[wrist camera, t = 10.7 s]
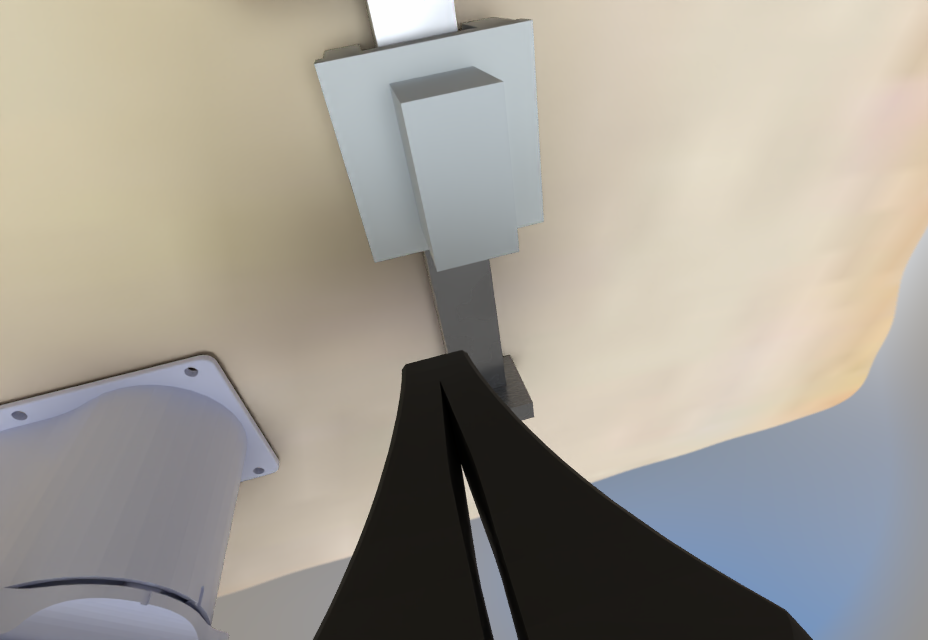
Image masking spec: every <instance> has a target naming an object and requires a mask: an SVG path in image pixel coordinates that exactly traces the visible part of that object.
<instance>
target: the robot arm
mask: <svg viewBox="0 0 928 640" xmlns="http://www.w3.org/2000/svg"><path fill="white" fill-rule="evenodd" d="M188 367H193V368H195V369H197V371H192V370H189V369H188ZM19 411H21V412H24V413H21V412H19ZM461 465H462V467H461ZM258 467H260V468H258ZM278 468H279V460H278V458H277V456H276V455H275V453H274V452H273V450H272V448H271V447H270V445H269V444H268V442H267V440H266V439H265V437H264V436H263V434H262V432H261V431H260V429H259V428H258V426H257V424H256V423H255V421H254V420H253V418H252V417H251V415H250V413H249V412H248V410H247V409H246V407H245V405H244V404H243V402H242V401H241V399H240V397H239V396H238V394H237V393H236V391H235V389H234V388H233V386H232V385H231V383H230V381H229V380H228V378H227V377H226V375H225V373H224V372H223V370H222V369H221V367H220V365H219V364H218V362H217V361H216V360H215V359H214V358H213V357H211V356H208V355H198V356H195V357H191V358H187V359H183V360H179V361H175V362H171V363H167V364H163V365H159V366H155V367H151V368H147V369H143V370H139V371H135V372H131V373H127V374H123V375H119V376H115V377H111V378H107V379H103V380H99V381H95V382H91V383H87V384H83V385H79V386H75V387H71V388H67V389H63V390H59V391H55V392H51V393H47V394H44V395H40V396H36V397H32V398H28V399H24V400H20V401H16V402H12V403H8V404H4V405H0V640H228V639H229V634H228V633H227V632H223V631H220V630H217V629H215V628H212V627H211V623H212V618H213V613H214V608H215V603H216V599H217V594H218V589H219V584H220V579H221V574H222V569H223V564H224V559H225V554H226V549H227V545H228V540H229V535H230V530H231V525H232V520H233V515H234V510H235V505H236V500H237V495H238V490H239V486H240V482H242V481H246V480H250V479H253V478H257V477H260V476H264V475H268V474H271V473H274V472H276V471H277V470H278ZM462 468H463V471H464V473H465V476H466V479H467V482H468V485H469V487H470V490H471V493H472V496H473V498H474V501H475V504H476V507H477V509H478V512H479V515H480V518H481V521H482V523H483V526H484V529H485V532H486V534H487V537H488V540H489V542H490V545H491V548H492V551H493V554H494V557H495V559H496V563H497V566H498V569H499V572H500V575H501V578H502V581H503V585H504V589H505V592H506V596H507V600H508V604H509V607H510V611H511V614H512V618H513V622H514V625H515V629H516V633H517V637H518V640H813V639H812V638H811V637H810V636H809V635H808V634H807V632H806V631H805V630H804V629H803V628H802V627H801V626H800V625H799V624H798V623H797V622H796V620H795V619H794V618H793V617H792V616H791V615H790V614H789V613H788V612H787V611H786V610H785V609H783V608H781V607H780V606H778V605H776V604H774V603H773V602H771V601H769V600H768V599H766V598H764V597H762V596H760V595H759V594H757V593H755V592H754V591H752V590H750V589H748V588H747V587H745V586H743V585H741V584H740V583H738V582H736V581H735V580H733V579H731V578H730V577H728V576H726V575H725V574H723V573H721V572H719V571H718V570H716V569H714V568H713V567H711V566H710V565H708V564H706V563H705V562H703V561H701V560H700V559H698V558H697V557H695V556H694V555H692V554H690V553H689V552H687V551H686V550H684V549H682V548H681V547H679V546H678V545H676V544H675V543H673V542H672V541H670V540H668V539H667V538H665V537H664V536H663V535H661V534H660V533H658V532H657V531H655V530H654V529H653V528H651V527H650V526H648V525H647V524H645V523H644V522H643V521H641V520H640V519H638V518H637V517H635V516H634V515H633V514H631V513H630V512H628V511H627V510H625V509H624V508H623V507H621V506H620V505H618V504H617V503H615V502H614V501H613V500H611V499H610V498H609V497H607V496H606V495H605V494H603V493H602V492H601V491H600V490H598V489H597V488H596V487H595V486H593V485H592V484H591V483H590V482H588V481H587V480H586V479H585V478H583V477H582V476H581V475H580V474H578V473H577V472H576V471H575V470H574V469H572V468H571V467H570V466H569V465H568V464H567V463H565V462H564V461H563V460H562V459H561V458H560V457H559V456H557V455H556V454H555V453H554V452H553V451H552V450H551V449H550V448H549V447H548V446H546V445H545V444H544V443H543V442H542V441H541V440H540V439H539V438H538V437H537V436H536V435H535V434H534V433H533V432H532V431H531V430H530V429H529V428H528V427H527V426H526V425H525V424H524V423H523V422H522V421H521V420H520V419H519V418H518V417H517V416H516V415H515V414H514V412H513V411H512V410H511V409H510V408H509V407H508V406H507V405H506V404H505V403H504V401H503V400H502V399H501V398H500V397H499V396H498V395H497V393H496V392H495V391H494V390H493V389H492V387H491V386H490V385H489V384H488V382H487V381H486V380H485V379H484V377H483V376H482V375H481V373H480V372H479V371H478V369H477V368H476V366H475V365H474V363H473V362H472V360H471V358H470V357H469V355H468V353H467V352H465V351H463V350H459V351H455V352H451V353H448V354H444V355H440V356H436V357H432V358H428V359H425V360H421V361H417V362H413V363H409V364H406V365H405V366H404V368H403V369H402V383H401V393H400V400H399V406H398V411H397V417H396V421H395V426H394V430H393V435H392V439H391V443H390V448H389V451H388V455H387V458H386V462H385V465H384V469H383V472H382V475H381V479H380V482H379V485H378V489H377V492H376V495H375V498H374V501H373V504H372V507H371V509H370V512H369V515H368V518H367V520H366V523H365V526H364V528H363V531H362V533H361V536H360V539H359V541H358V544H357V546H356V548H355V551H354V553H353V555H352V558H351V560H350V562H349V565H348V567H347V569H346V572H345V574H344V576H343V579H342V581H341V584H340V585H339V588H338V590H337V592H336V594H335V596H334V599H333V601H332V603H331V605H330V607H329V609H328V611H327V613H326V615H325V617H324V619H323V621H322V623H321V625H320V627H319V629H318V631H317V633H316V635H315V637H314V639H313V640H494V639H493V635H492V630H491V626H490V622H489V618H488V614H487V610H486V606H485V601H484V597H483V593H482V589H481V584H480V579H479V574H478V569H477V563H476V558H475V550H474V545H473V538H472V531H471V525H470V518H469V512H468V505H467V499H466V493H465V486H464V480H463V473H462Z"/></svg>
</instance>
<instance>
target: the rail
mask: <svg viewBox="0 0 928 640" xmlns="http://www.w3.org/2000/svg"><path fill="white" fill-rule="evenodd" d="M364 1H365V5H366V9H367V14H368V18H369V22H370V27H371V31H372V35H373V40H374V44H375V48H378V47H383V46H388V45H392V44H397V43H402V42H407V41H412V40H417V39H422V38H427V37H432V36H437V35H442V34H447V33H452V32H457V31H458V29H457V21H456V14H455V7H454V0H364ZM423 255H424V260H425V264H426V268H427V273H428V277H429V281H430V286H431V290H432V294H433V299H434V303H435V307H436V312H437V316H438V320H439V325H440V329H441V333H442V338H443V342H444V346H445V350H446V354H448V353H451V352H455V351H459V350H463V351H465V352H467V353H468V355H469V357H470V358H471V360H472V362H473V363H474V365H475V366H476V368H477V369H478V371H479V372H480V373H481V375H482V376H483V377H484V379H485V380H486V381H487V382H488V384H489V385H490V386H491V387H492V389H493V390H494V391H495V392H496V393H497V395H498V396H499V397H500V398H501V399H502V400H503V401H504V403H505V404H506V405H507V406H508V407H509V408H510V409H511V410H512V411H513V412H514V414H515V415H516V416H517V417H518V418H519V419H520V420H525V419H529V418H532V417H534V412H533V402H532V400H531V398H530V396H529V394H528V392H527V390H526V387H525V385H524V383H523V381H522V379H521V377H520V375H519V373H518V371H517V369H516V367H515V364H514V362H513V360H512V358H511V356H510V355H509V356H505V357H503V356H502V349H501V342H500V335H499V327H498V320H497V313H496V305H495V298H494V291H493V284H492V276H491V269H490V262H489V259H487V260H483V261H479V262H475V263H471V264H467V265H463V266H459V267H455V268H451V269H447V270H443V271H439V272H437V270H436V267H435V264H434V261H433V259H432V256H431V253H430V250H426V251H423Z"/></svg>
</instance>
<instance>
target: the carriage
mask: <svg viewBox="0 0 928 640" xmlns="http://www.w3.org/2000/svg"><path fill="white" fill-rule="evenodd" d="M461 26H462V31H457V32H452V33H447V34H442V35H437V36H432V37H427V38H422V39H417V40H412V41H407V42H402V43H397V44H392V45H388V46H383V47H378V48H373V49H368V50H363V51H362V50H361V48H360V46H359V44H357V45H352V46H347V47H342V48H337V49H332V50H327V51H325V52H324V56H323V59H318V60H316V61H315V63H314V65H315V68H316V72H317V75H318V78H319V82H320V85H321V88H322V91H323V95H324V98H325V101H326V105H327V108H328V111H329V114H330V118H331V121H332V124H333V127H334V131H335V134H336V137H337V141H338V144H339V147H340V150H341V154H342V157H343V160H344V163H345V167H346V170H347V173H348V177H349V180H350V183H351V186H352V190H353V193H354V196H355V200H356V203H357V206H358V209H359V213H360V216H361V219H362V222H363V226H364V229H365V232H366V236H367V239H368V242H369V245H370V249H371V252H372V255H373V258H374V262H375V263H376V262H380V261H384V260H388V259H393V258H397V257H401V256H405V255H409V254H413V253H417V252H421V251H426V250H430V253H431V256H432V259H433V261H434V264H435V267H436V270H437V272H439V271H443V270H447V269H451V268H455V267H459V266H463V265H467V264H471V263H475V262H479V261H483V260H487V259H491V258H495V257H499V256H503V255H507V254H512V253H516V252H519V242H518V231H517V228H520V227H525V226H529V225H533V224H537V223H541V222H544V217H543V199H542V181H541V162H540V144H539V126H538V108H537V89H536V71H535V53H534V35H533V20H529V19H516V20H512V19H504V18H496V17H492V18H487V19H482V20H477V21H472V22H467V23H462V24H461Z"/></svg>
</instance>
